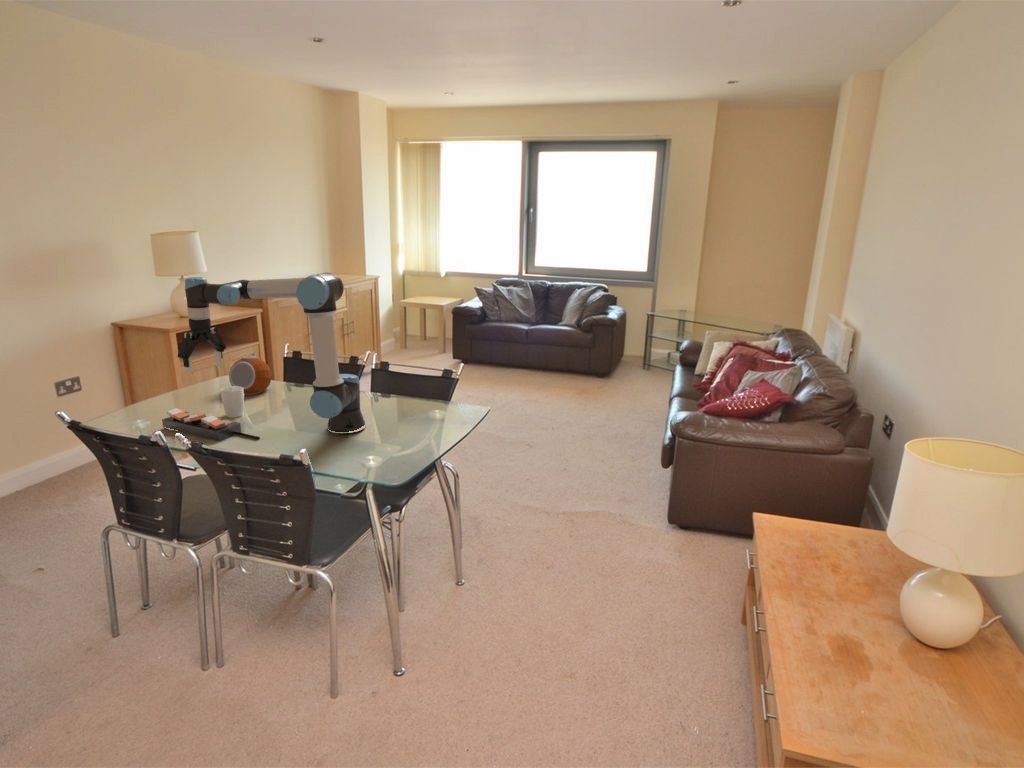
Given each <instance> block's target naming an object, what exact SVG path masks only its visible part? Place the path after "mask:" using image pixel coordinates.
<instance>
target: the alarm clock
mask: <svg viewBox="0 0 1024 768" xmlns="http://www.w3.org/2000/svg"><path fill="white" fill-rule="evenodd" d="M228 377H229V382H230V384H231V385H230V386H241V387H243V391H244V395H257V394H260V393H261V392H262V393H264V392H265V391H266V390H267V389H268V388H269V386H270V385H271V381H272V370H271V368H270V366H269V365H268V364H267V363H266V362H265V361H264V360H263V359H261V358H259V357H256V356H255V355H244V356H243V357H242V358H240V359H238V360H236V361H235V362H234V363H233V365H232V366H231V367H230V369H229V373H228ZM263 391H264V392H263ZM262 393H261V394H262Z"/></svg>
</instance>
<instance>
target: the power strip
mask: <svg viewBox="0 0 1024 768" xmlns="http://www.w3.org/2000/svg"><path fill="white" fill-rule="evenodd" d="M184 412H185V413H187V414H189V417H191V416H194V415H201V414H199V413H194V412H190V411H184ZM208 416H209V415H206V417H208ZM206 417H204V418H206ZM217 418H218V417H217ZM202 419H203V418H201V419H199V420H195V421H187V422H184V419H183V420H180V421H179V420H177V419H175V418H174V417H172V416H168V417H166V418H162V419H161V421H162V422H161V423H162V428H163V427H166V428H170V429H174V430H178V431H177V432H176V433H181V434H184V435H189V436H192V437H198V438H199V437H200V438H201V439H202V438H203V439H207V440H212V441H216V442H221V441H224V440H226V439H229V438H232V437H233V436H239V437H245V438H250V439H253V440H258V441H259V440H260V438H261V437H260V436H257V435H253V434H249V433H244V432H242V426H241V422H237V421H232V420H229V419H223V418H218V419H220V420H222V421H224V422H225V425H224V426H221V427H218V428H216V429H215V428H213V427H212V426H210V425H208V424H206V423H204V422H202ZM182 432H183V433H182Z"/></svg>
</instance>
